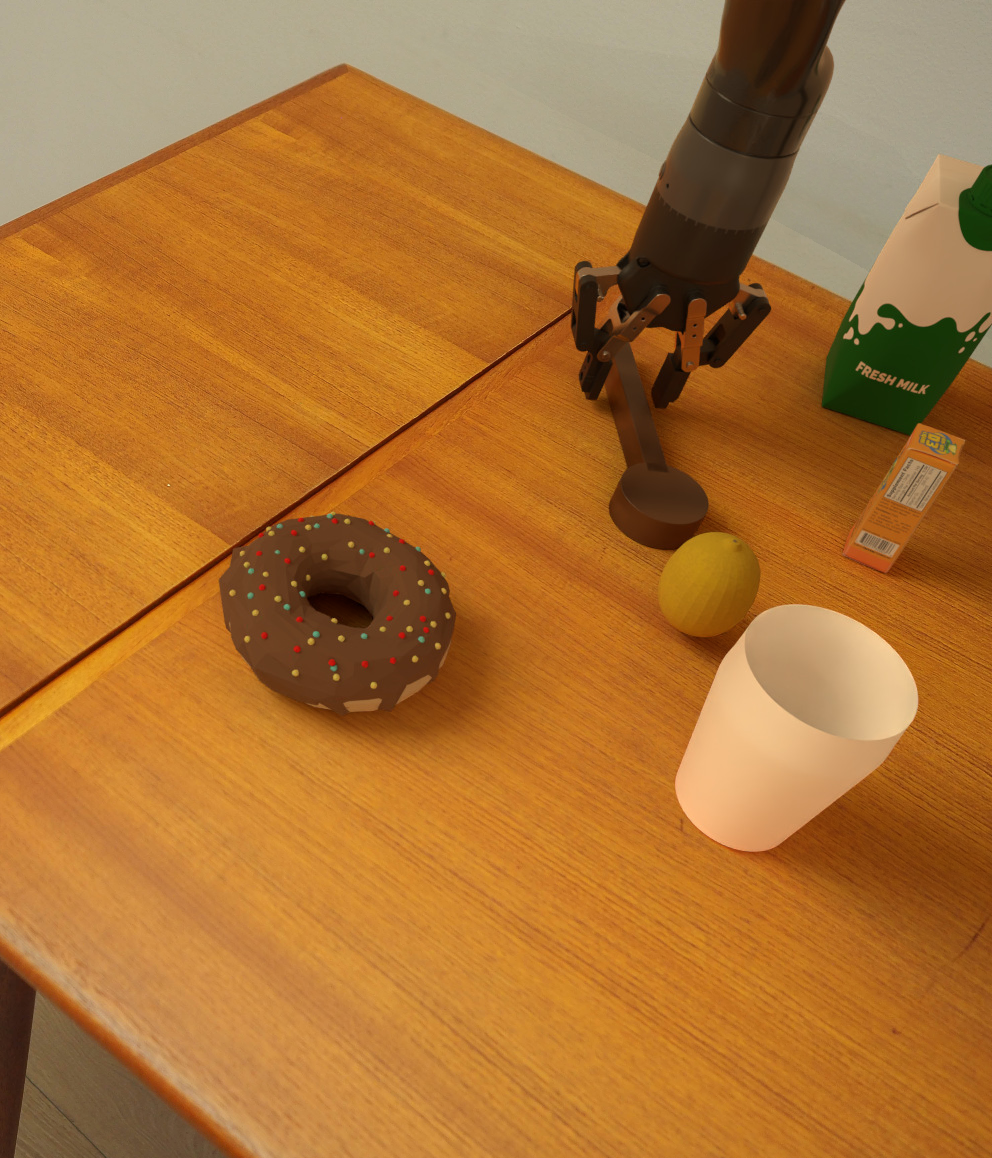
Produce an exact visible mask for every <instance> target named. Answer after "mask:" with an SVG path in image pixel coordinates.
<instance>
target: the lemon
mask: <svg viewBox="0 0 992 1158" xmlns="http://www.w3.org/2000/svg"><path fill="white" fill-rule="evenodd" d="M761 572H762V571H761V567H760V562H759V559H758V557H757V555H756V553H755V552H754V550H753V548H751V547H750V546H749V544H748V543H746V541H744V539H741V538H739V537H737V536H736V535H733V534H731V533H727V532H721V531H710V532H703V533H700V534H698V535H696V536H695V535H694V537H693V538H691V539H689V540H688V541H686V542H685V543H684V544H683V545H682V546H681V547H679V548H677V549H676V550H675V552H673V554H671V556H670V557H669V559H668V560H667V561H666V563H665V565H664V567H663V569H662V572H661V574H660V577H659V580H658V582H657V601H658V605H659V608H660V611H661V613H662V615H663V616H664V618H665V620H666V621H667V622H668V623H669V624H670V625H671V627H673V628H675V629H676V630H677V631H679V632H680V633H683V634H685V635H688V636H691V637H698V638H709V637H716V636H719V635H721V634H724V633H727V632H729V631H730V630H732V629H733V628H734V627H735V626H737V625H738V624H740V622H742V620H743V619H744V618H745V617H746V616H747V615H748V613H749V611H750V610H751V608H752V606H753V605H754V603H755V601H756V599H757V596H758V592H759V589H760V583H761V576H762V575H761Z"/></svg>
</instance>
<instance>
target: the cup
mask: <svg viewBox="0 0 992 1158" xmlns="http://www.w3.org/2000/svg"><path fill="white" fill-rule="evenodd" d="M711 683H712V684H711V686H710V689H709V691H708V693H707V696H706V699H705V701H704V704H703V706H702V709H701V711H700V714H699V715H698V719H697V721H696V724H695V727H694V729H693V731H692V734H691V736H690V739H689V742H688V744H687V747H686V749H685V752H684V754H683V757H682V760H681V762H680V765H679V767H678V770H677V771H676V775H675V780H674V781H675V782H674V783H675V784H674V788H675V795H676V798H677V801H678V803H679V806H680V808H681V809H682V811H683V813H684V814H685V816H686V817H687V818H688V820H689V821H690V822H691V823H692V824H693V825H694V826H695V827H696V828H697V829H698V830H699V831H701V832H702V833H703V834H704V835H705V836H707V837H708V838H710V839H712V840H713V841H715V842H717V843H719V844H721V845H723V846H724V847H728V848H729V849H730V848H731V849H734V850H737V851H742V852H748V853H749V852H753V853H756V852H757V853H758V852H765V851H768V850H771V849H774V848H776V847H778V846H779V845H781V844H782V843H783V842H784V841H786V840H787V839H788V838H790V837H791V836H792V835H793V834H795V833H796V832H797V831H799V830H800V829H802V828H803V827H804V826H805V825H806V824H808V823H809V822H810V821H811V820H813V819H814V818H815V817H816V816H818V815H819V814H821V813H822V812H823V811H824V810H825V809H827V808H829V807H830V806H831V805H832V804H833V803H835V802H836V801H837V800H838V799H840V798H841V797H842V796H844V795H845V794H847V793H848V792H849V791H850V790H851V789H853V788H854V787H855V786H856V785H857V784H859V783H860V782H861V781H863V780H864V779H866V777H868V776H869V775H870V774H871V773H873V772H874V771H875V770H877V769H878V768H879V767H880V766H881V765H882V764H883V763H884V762H885V761H886V759H887V758H888V756H889V755H890V754H891V753H892V751H893V750H894V747H895V746H896V745H897V743H898V742H899V740H900V739H901V737H902V736H903V735H904V734H905V732H906V730H907V729H908V728H909V727H910V725H911V724H912V722H913V721H914V719H915V717H916V715H917V712H918V709H919V693H918V688H917V683H916V680H915V679H914V676H913V674H912V672H911V670H910V669H909V667H908V665H907V664H906V662H905V661H904V660H903V658H902V657H901V656H900V654H899V653H898V652H897V651H896V650H895V649H894V647H892V646H891V644H889V643H888V642H887V641H886V640H885V639H884V638H883V637H882V636H881V635H879V634H877V633H876V632H875V631H874V630H872V629H871V628H869V627H868V626H866V625H865V624H863V623H861V622H860V621H857V620H855V619H854V618H852V617H850V616H848V615H845V614H843V613H840V612H838V611H836V610H833V609H829V608H825V607H821V606H817V605H810V604H803V603H802V604H800V603H794V604H793V603H792V604H791V603H790V604H782V605H777V606H773V607H771V608H768V609H766V610H764V611H762V612H761V613H759V614H758V615H757V616H756V617H754V618H753V620H752V621H751V622H750V624H749V625H748V626H747V628H746V629H745V631H744V632H743V633H742V635H741V636H740V637H739V639H737V641H736V643H735V644H734V645H733V646H732V647H731V648H730V649H729V651H728V652H727V653H726V654H725V656H724V657H723V659H721V662H720V664H719V666H718V669H717V671H716V673H715V675H714V679H713V681H712V682H711Z"/></svg>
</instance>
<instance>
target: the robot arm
mask: <svg viewBox="0 0 992 1158" xmlns="http://www.w3.org/2000/svg"><path fill="white" fill-rule="evenodd" d="M846 1H847V0H724V2H723V3H724V4H723V9H722V15H721V19H720V26H719V34H718V35H719V37H718V42H717V48H716V51H715V53H714V55H713V57H712V59H711V61H710V63H709V65H708V68H707V70H706V72H705V74H704V77H703V80H702V82H701V84H700V87H699V89H698V92H697V94H696V97H695V99H694V102H693V103H692V106H691V108H690V112H689V113H688V115H687V117H686V119H685V120H684V123H683V125H682V127H681V128H680V130H679V132H678V133H677V135H676V137H675V139H674V140H673V142H672V144H671V147H670V148H669V151H668V154H667V155H666V158H665V160H664V161H663V163H662V164H661V166H660V169H659V171H658V178H657V181H656V182H655V185H654V188H653V190H652V193H651V194H650V197H649V200H648V202H647V204H646V207H645V209H644V212H643V215H642V216H641V219H640V222H639V223H638V226H637V228H636V232H635V234H634V237H633V240H632V244H631V246H630V247H629V250H628V251H627V252H626V253H625V254H624V255H623V256H622V257H621V258H620V259H619V260H617V263H616V264H615V265H611V266H610V265H609V266H601V267H594V266H593V264H592V263H591V261H588V260H582V261H579V262H577V263H576V265H575V266H574V270H573V271H574V272H573V283H572V299H571V300H572V301H571V313H570V330H571V333H572V337H573V338H572V339H573V342H574V345H575V348H576V350H577V351H579V352H583V353H585V352H586V355H585V357H584V360H583V361H582V364H581V367H580V369H579V372H578V382H579V385H580V389H581V392H582V393H584V397H585V400H586V401H587V400H588V401H597V400H598V399H599V397H600V395H601V393H602V390H603V388H604V386H605V384H604V383H605V381H606V378H607V376H608V374H609V372H610V369H611V367H612V365H613V362H612V359H613V358H614V356H615V355H616V354H617V353H618V352H619V351H620V350H621V349H622V347H623V346H624V345H625V344H626V343H627V342H630V343H633V342H634V341H635V340H636V339H637V337H639V335H641V333H642V332H643V331H644V330H645V329H657V328H664V329H666V330H669V331H671V332H674V351H673V352H667V354H666V357H665V359H664V362H663V363H662V366H661V368H660V369H659V372H658V374H657V376H656V378H655V380H654V383H653V384H652V387H651V389H650V396H651V400H652V403H653V407H654V408H655V409H661V410H666V409H667V408H668V406H669V404H674V403H675V402H676V401H677V400H678V399H679V398H680V395H681V394H682V392H683V390H684V388H685V386H686V383H687V381H688V380H689V378H690V375H691V373H692V372H694V371H696V370H698V368H699V367H702V366H709V367H711V369H720V368H722V367H723V366H725V365H726V363H727V362H728V361H730V360H731V358H732V357H733V355H734V354H736V352H737V351H738V350H739V349H740V348H741V346H742V345H743V344H744V343H745V342H746V341H747V339H748V338H749V337H750V336H751V335H752V334H753V333H754V332H755V330H756V329H757V328H758V327H759V326H760V325H761V323H763V321H764V320H765V319H766V318H767V317H768V316H769V314H771V312H772V306H771V304H770V302H769V298H768V296H767V294H766V292H765V290H764V288H763V286H762V285H761V283H758V282H753V283H750V284H749V285H747V284H745V283H743V282H742V283H741V282H740V276H741V275H742V274H743V273H744V271H745V270H746V268H747V266H748V265H749V263H750V260H751V258H752V256H753V254H754V252H755V250H756V247H757V246H758V244H759V242H760V239H761V238H762V236H763V233H764V231H765V230H766V228H767V225H768V224H769V222H770V219H771V217H772V215H773V214H774V211H775V210H776V207H777V205H778V203H779V201H780V199H781V197H782V195H783V193H784V191H785V189H786V186H787V184H788V182H789V179H790V177H791V174H792V172H793V171H792V170H793V167H794V165H795V163H796V162H795V161H796V159H797V156H798V154H799V151H800V150H801V149H800V148H801V146H802V144H803V142H804V140H805V138H806V136H807V134H808V132H809V130H810V128H811V126H812V124H813V122H814V119H815V118H816V116H817V114H818V111H819V109H820V108H821V106H822V104H823V102H824V99H825V98H826V95H827V93H828V91H829V88H830V85H831V83H832V79H833V75H834V70H835V61H834V55H833V53H832V52H831V49H830V47H829V46H828V43H829V39H830V38H831V37H830V36H831V33H832V31H833V29H834V25H835V23H836V20H837V18H838V16H839V14H840V12H841V10H842V8H843V6H844V4H845V2H846ZM613 286H617V287H618V289H619V292H620V294H619V296H618V297H617V298H616V299H615V301H613V303H612V304H611V305H610V306H609V309H608V313H607V315H606V317H604V318H603V320H602V321H601V323H599V325H597V327H596V316H597V305H598V303H602V302H603V301H604V299H605V298H606V296H607V295H608V291H609V290H610V289H611V288H612V287H613ZM727 304H728V308H727V309H726V310H725V312H724V313H723V314H722V315H721V317H720V318H719V319H718V320H717V321H716V322H715V324H714V325H713V326H712V327H711V328H710V329H709V330H708V332H707V334H706V335H704V331H705V330H704V329H705V319H706V318H707V319H708V317H710V316H711V315H714V314H715V313H716V312H718V310H720V309H721V308H723V307H725V306H727Z"/></svg>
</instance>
